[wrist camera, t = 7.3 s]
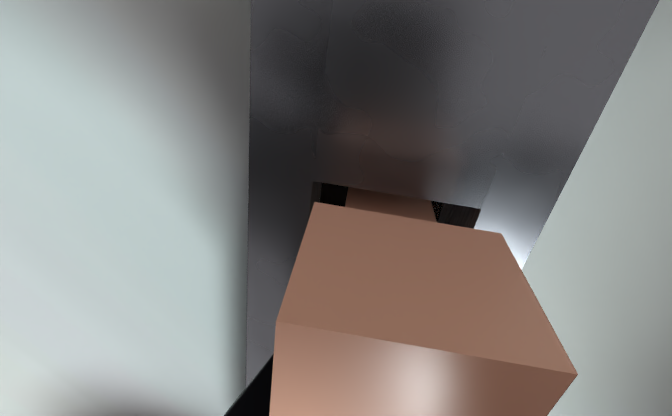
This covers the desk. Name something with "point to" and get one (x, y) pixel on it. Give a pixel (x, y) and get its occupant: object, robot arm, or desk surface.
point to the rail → (420, 115)
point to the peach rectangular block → (410, 319)
